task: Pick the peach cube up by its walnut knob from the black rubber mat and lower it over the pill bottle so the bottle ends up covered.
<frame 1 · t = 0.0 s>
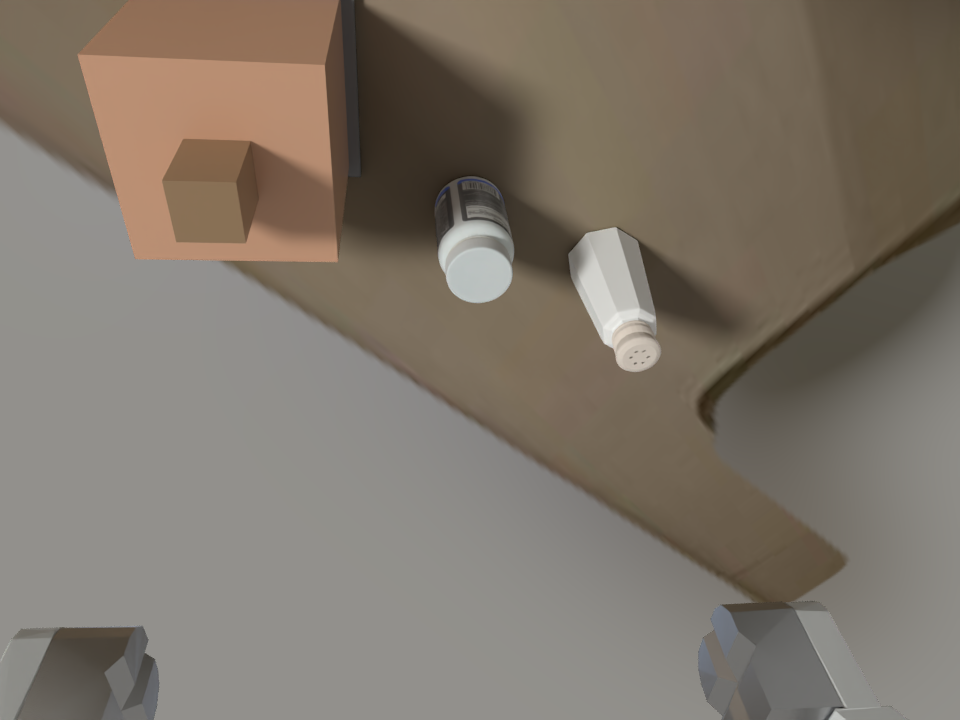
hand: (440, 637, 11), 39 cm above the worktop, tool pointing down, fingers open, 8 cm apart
pepper shaker: (602, 256, 54), on the worktop
pill bottle: (469, 204, 50), on the worktop
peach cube: (256, 83, 43), resting on mat
mat: (257, 80, 43), on the worktop
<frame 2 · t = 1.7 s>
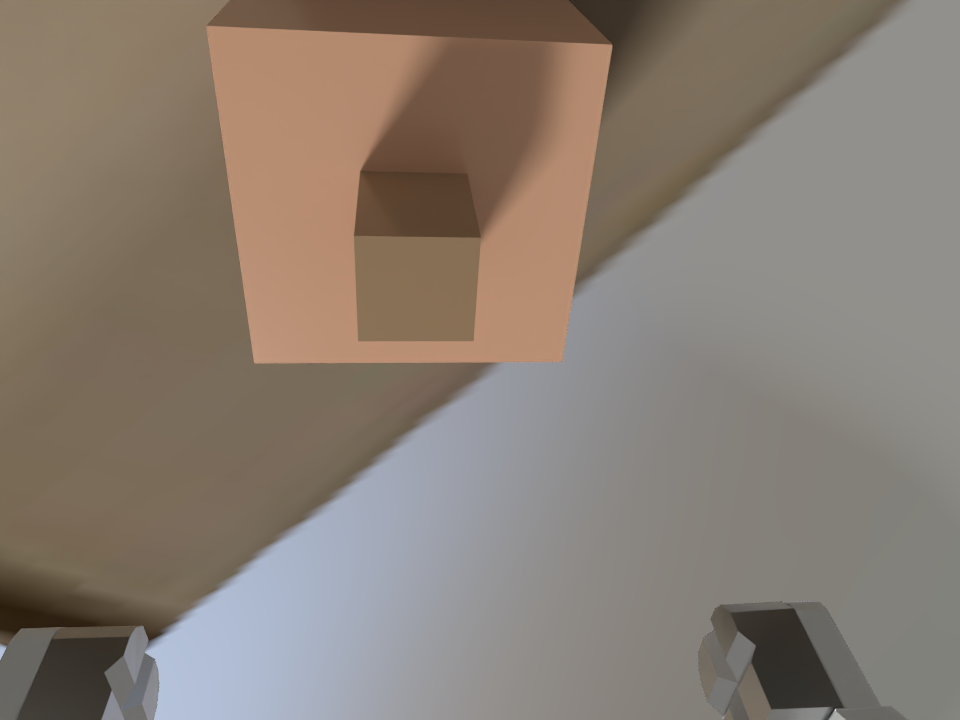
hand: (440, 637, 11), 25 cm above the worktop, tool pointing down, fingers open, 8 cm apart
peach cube: (407, 107, 30), resting on mat
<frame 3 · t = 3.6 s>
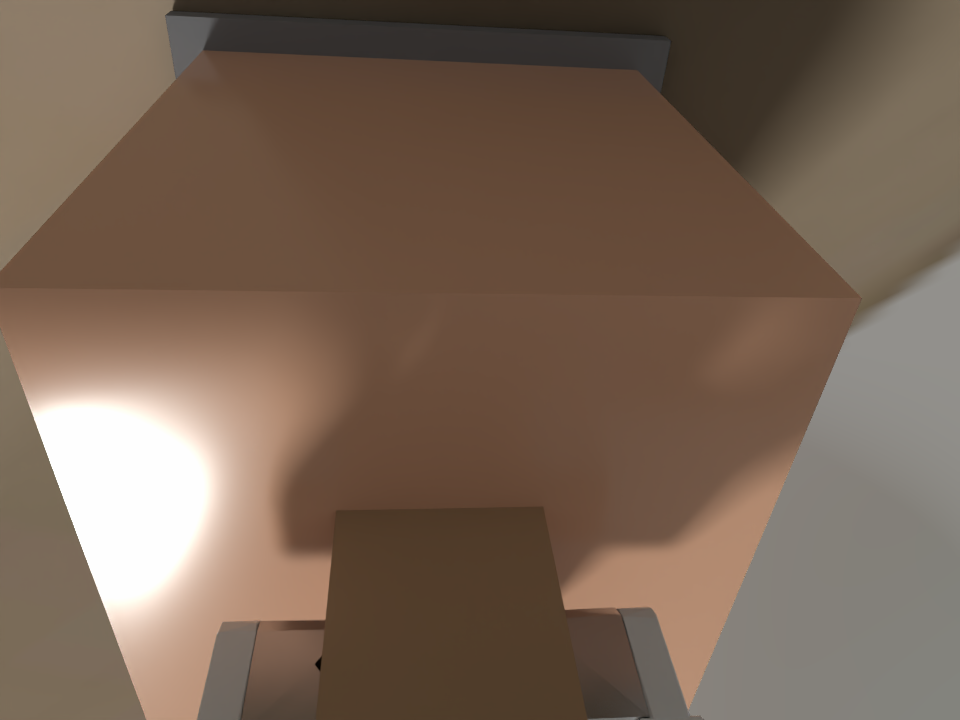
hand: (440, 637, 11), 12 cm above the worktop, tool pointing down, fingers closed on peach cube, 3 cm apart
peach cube: (422, 254, 20), resting on mat, touching gripper
mat: (422, 246, 21), on the worktop
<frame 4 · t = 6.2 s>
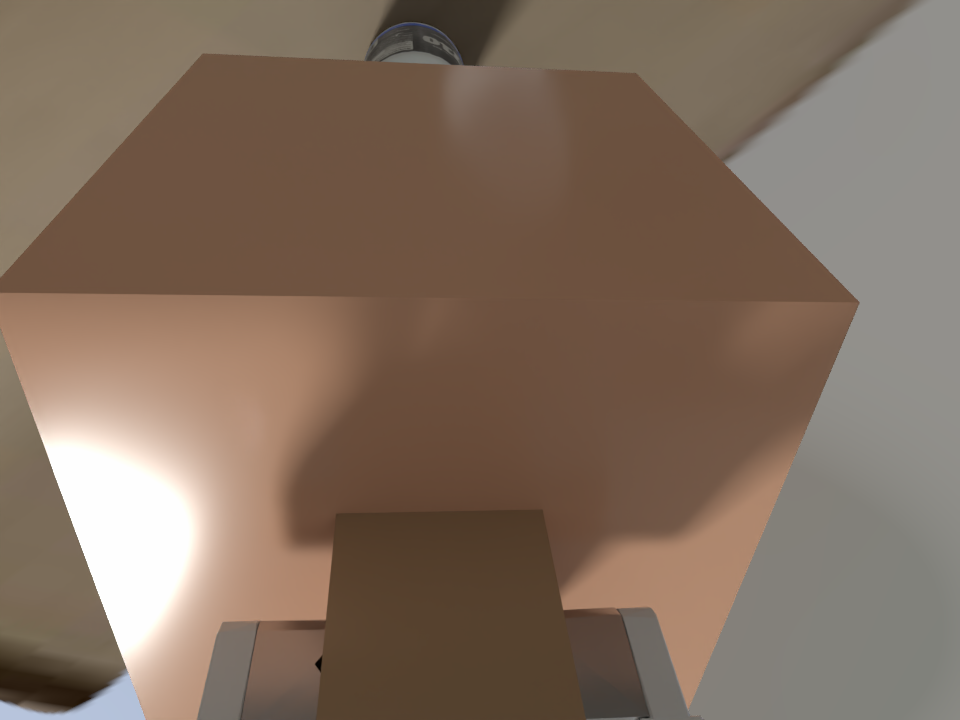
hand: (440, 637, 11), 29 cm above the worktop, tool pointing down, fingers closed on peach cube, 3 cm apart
pill bottle: (413, 73, 34), on the worktop
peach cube: (422, 257, 20), point 17 cm above the worktop, touching gripper
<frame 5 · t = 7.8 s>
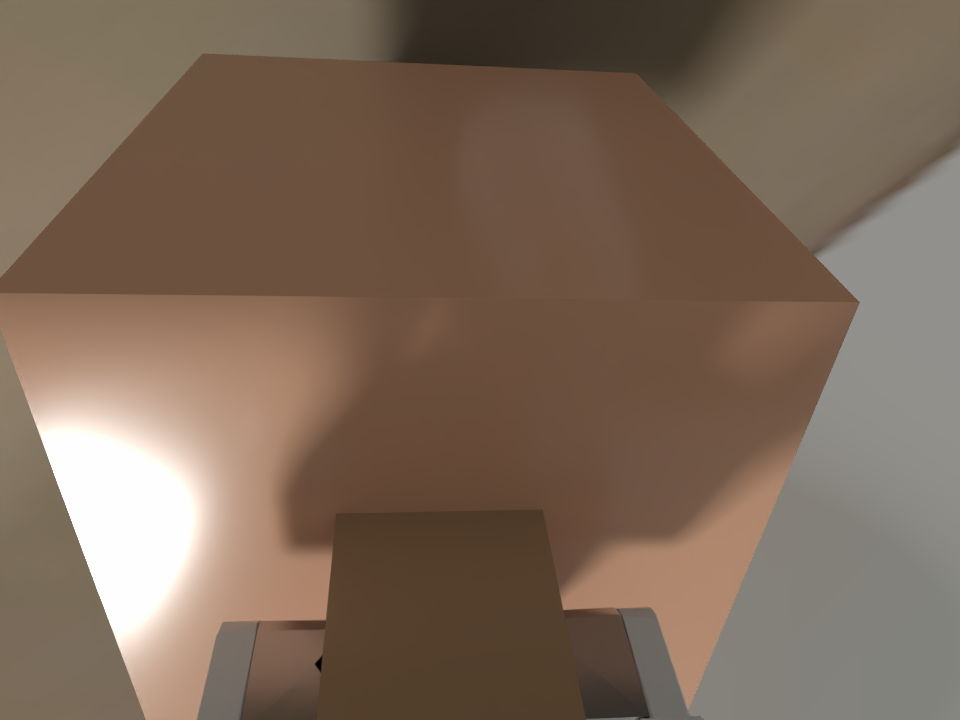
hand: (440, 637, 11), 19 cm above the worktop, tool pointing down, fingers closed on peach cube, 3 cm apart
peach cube: (422, 257, 20), point 7 cm above the worktop, touching gripper
when the fingers open (13 cm above the worktop, at t = 9.2 s): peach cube drops 1 cm, on the worktop.
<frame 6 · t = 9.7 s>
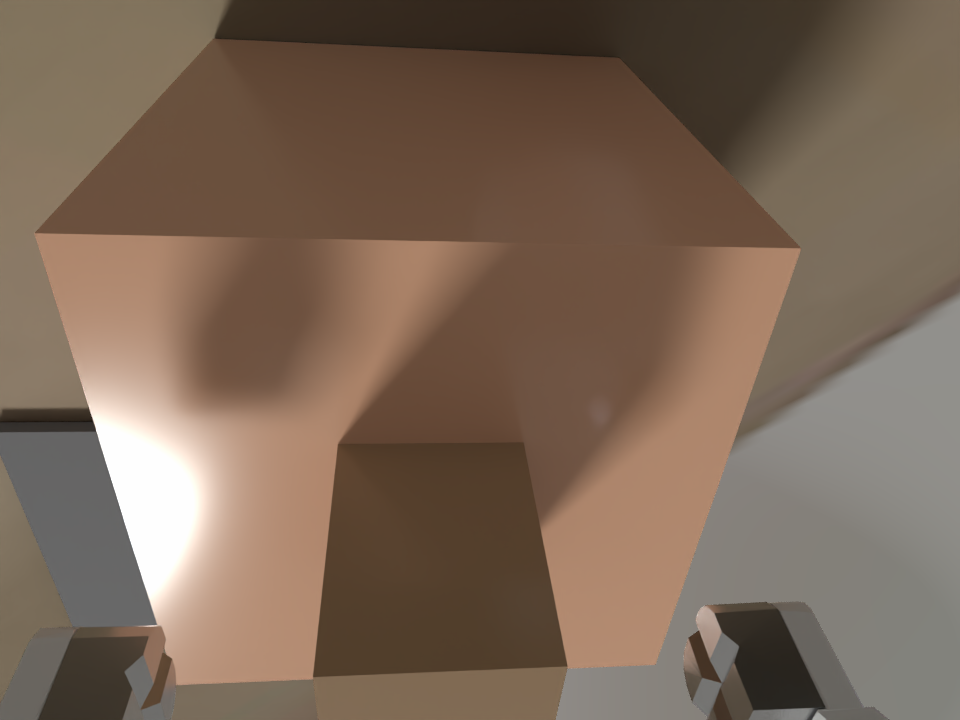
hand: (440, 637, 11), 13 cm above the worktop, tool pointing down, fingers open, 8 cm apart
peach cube: (419, 233, 22), on the worktop
mat: (206, 537, 28), on the worktop
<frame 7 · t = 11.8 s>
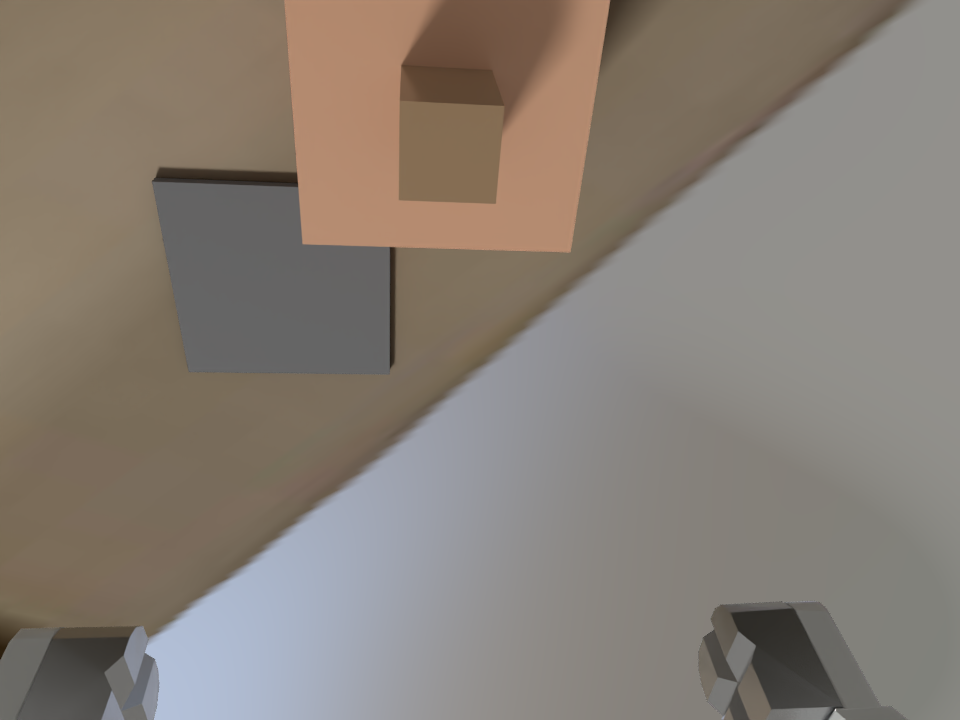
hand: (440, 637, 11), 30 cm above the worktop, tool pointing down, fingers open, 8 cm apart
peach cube: (436, 41, 34), on the worktop
mat: (283, 282, 40), on the worktop
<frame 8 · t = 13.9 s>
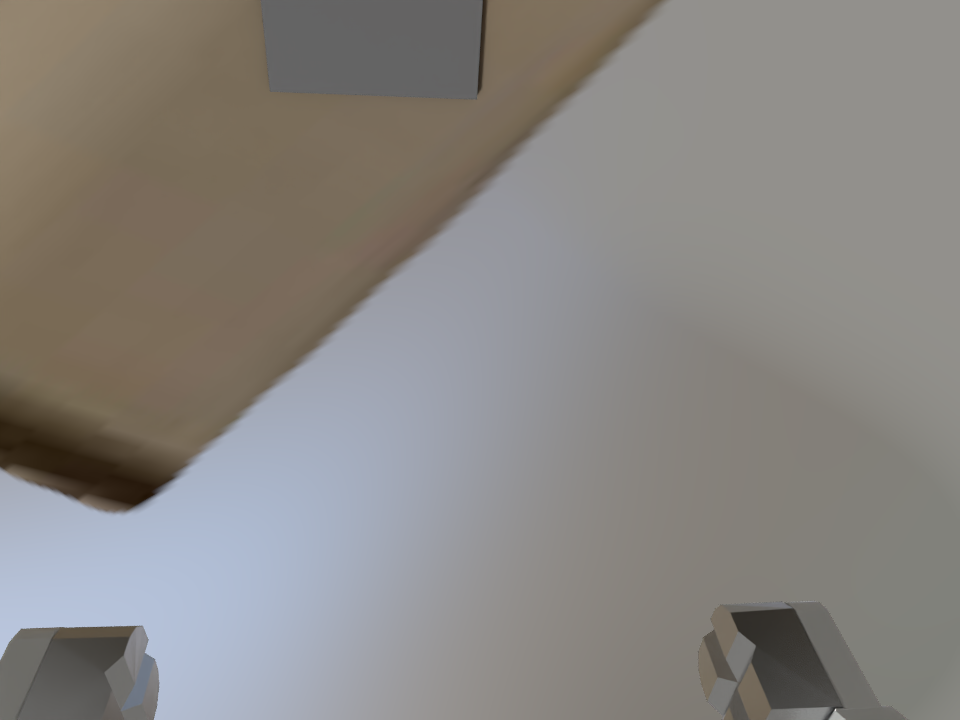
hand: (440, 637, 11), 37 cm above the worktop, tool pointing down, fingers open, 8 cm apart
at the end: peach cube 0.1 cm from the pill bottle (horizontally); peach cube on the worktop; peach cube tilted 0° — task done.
